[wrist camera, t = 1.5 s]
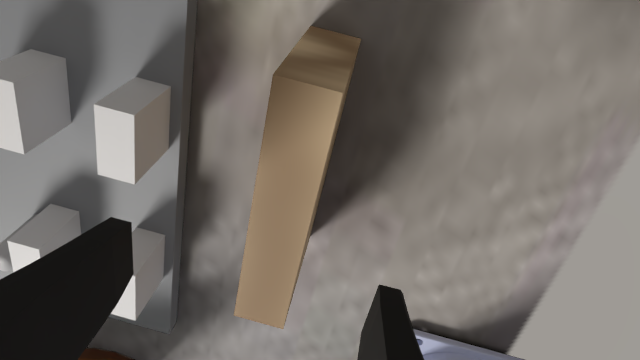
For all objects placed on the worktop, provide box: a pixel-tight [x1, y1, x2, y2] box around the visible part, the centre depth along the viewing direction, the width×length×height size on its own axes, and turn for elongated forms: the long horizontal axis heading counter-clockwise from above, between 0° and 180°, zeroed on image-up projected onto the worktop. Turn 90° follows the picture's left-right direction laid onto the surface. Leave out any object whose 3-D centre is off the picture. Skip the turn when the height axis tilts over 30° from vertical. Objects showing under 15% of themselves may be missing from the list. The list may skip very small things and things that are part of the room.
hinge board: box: [0, 0, 198, 334], centre depth 21 cm, size 14×20×4 cm
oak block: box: [234, 26, 361, 329], centre depth 18 cm, size 2×10×6 cm, turn 168°
